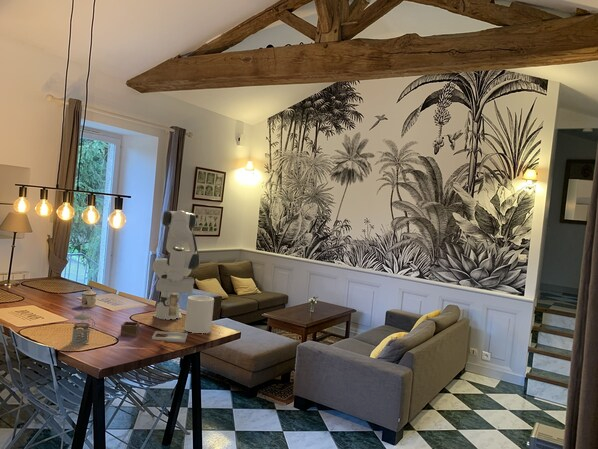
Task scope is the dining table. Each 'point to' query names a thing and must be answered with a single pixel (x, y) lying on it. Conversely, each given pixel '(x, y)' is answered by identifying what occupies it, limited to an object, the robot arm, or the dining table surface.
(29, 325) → the dining table surface
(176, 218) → the robot arm
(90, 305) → the teacup with lid
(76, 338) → the french press
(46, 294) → the dining table surface
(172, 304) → the dowel
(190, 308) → the canister
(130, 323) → the pen pot
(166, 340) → the tray
